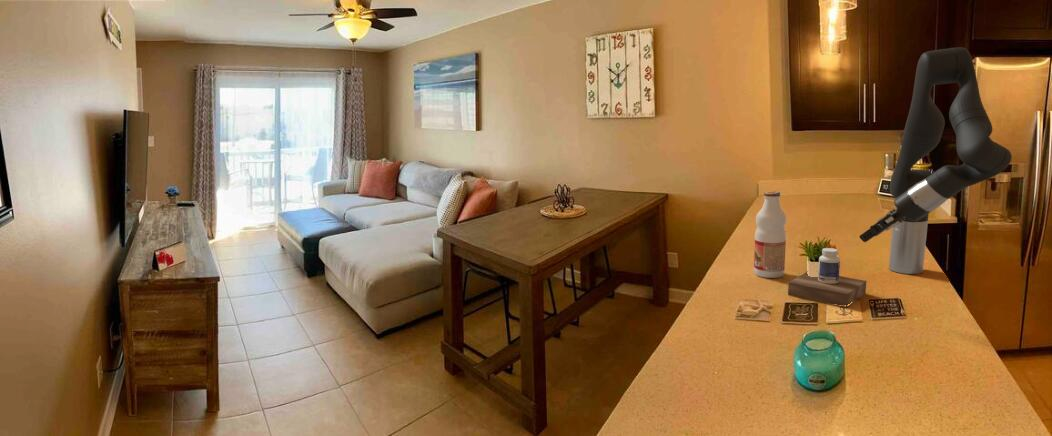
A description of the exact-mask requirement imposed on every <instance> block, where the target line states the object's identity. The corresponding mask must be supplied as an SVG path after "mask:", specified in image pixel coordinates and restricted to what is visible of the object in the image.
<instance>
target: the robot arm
mask: <svg viewBox="0 0 1052 436" xmlns="http://www.w3.org/2000/svg"><path fill="white" fill-rule="evenodd" d="M976 74H977V73H976V69H975V65H974V61H973V58H972V56H971V53H970V52H969V50H968V49H967V48H965V47H960V46H959V47H949V48H942V49H934V50H928V51H925V52H923V53H922V54H921V55H920V58H919V59H918V62H917V64H916V71H915V78H914V82H913V83H914V84H913V92H912V99H911V102H910V108H909V110H908V115H907V119H906V121H905V122H906V123H905V124H904V126H905V127H904V129H903V133H902V141H901V146H900V150H899V155H898V158H897V160H896V163H895V166H894V170H893V172H892V175H891V177H890V178H891V179H890V184H889V192H890V195H891V196H892V197H893V198H895V199H894V200H893V203H894V206H895V207H896V208H893V209H892V210H890V211H888V212H886V213H885V215H884V216H882V217H880V218H879V219H878V220H876V223H875V224H872V225H871V226H869V229H867V230H866V231H864V232H863V233H861V234H860V235H859V236H858V237H859V238H860V240H862V242H863V243H867V242H868V241H870V240H871V239H873V238H874V237H878V236H879V235H880V234H882V233H883V232H888V231H889V230H890V229H891V239H890V249H889V250H890V251H889V252H890V253H889V264H888V269H889V270H890V271H892V272H895V273H898V274H899V273H900V274H904V275H905V274H907V275H919V274H922V273H923V271H924V263H925V253H926V244H927V243H926V242H927V233H928V224H929V223H928V221H929V215H930V213H931V212H933V211H935V210H936V209H937V208H940V206H942V205H943V204H944V203H945V202H947V201H948V200H949V199H951V198H953V197H954V196H955V195H957V194H958V193H961V192H962V190H964V189H966V188H968V187H972V186H973V185H977V184H978V183H981V182H984V181H987V180H989V179H991V178H993V177H995V176H997V175H999V174H1001V173H1002V172H1003V171H1005V170H1006V169H1007V167H1008V166H1009V165H1010V163H1012V162H1011V161H1012V157H1013V156H1012V152H1011V151H1010V150H1009V149H1008V148H1007V147H1005V146H1003V145H1001V144H999V143H998V142H995V141H994V140H992V138H991V137H990V136H991V135H992V132H993V124H992V122H991V120H990V117H989V115H988V113H987V110H986V109H985V108H984V104H983V102H982V98H981V94H980V90H979V89H980V88H979V83H978V78H977V75H976ZM954 83H956V84H957V85H958V88H959V89H958V93H957V95H956V96H955V98H954V99H953V102H952V103H951V105H950V107H949V112H948V116H949V122H950V124H951V127H952V129H953V131H954V133H955V136H956V138H955V142H956V145H955V146H956V152H957V156H958V158H959V160H961V161H962V163H963V164H961V165H953V164H946V165H943V166H942V167H940V168H939V169H937V170H935V171H934V172H932V171H931V170H928V169H912V168H913V167H914V166H915V165H916V163H918V162H919V161H920V160H922V159H923V158H924V157H926V156H928V154H929V153H931V152H932V151H933V150H934V149H935V148H936V147H937V146H938V145H939V144H940V142H941V139H942V136H943V132H944V129H945V125H946V121H945V118H944V115H943V113H942V112H941V109H939V108H938V106H937V105H936V104H935V102H934V100H933V98H932V95H931V91H932V88H933V87H934V86H937V85H939V86H940V85H946V84H954Z"/></svg>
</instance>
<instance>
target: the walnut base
mask: <svg viewBox="0 0 1052 436" xmlns="http://www.w3.org/2000/svg"><path fill="white" fill-rule="evenodd" d="M807 272H808V271H806V272H804V273H802V274H801V275H798V276H797V277H796V278H794V279H792V280H790V281H788V285H787V286H788V289H787V295H788V296H791V297H794V298H795V297H796V298H801V299H805V300H809V301H815V302H820V303H824V304H828V305H832V304H837V305H846V306H847V305H848V304H850V303H851V302H854V301H855V302H857V301H858V300H859V299H860V298H862V297H863V296H865V295H866V293H867V280H864V279H858V278H853V277H849V276H847V277H846V276H842V275H839V281H838V283H836V284H827V283H822V282H820V281H819V280H818V277H810V276H808V274H807ZM855 302H854V303H855ZM837 305H836V306H837Z"/></svg>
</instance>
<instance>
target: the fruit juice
mask: <svg viewBox="0 0 1052 436" xmlns="http://www.w3.org/2000/svg"><path fill="white" fill-rule="evenodd" d="M763 197H764V202H763V204H762V207H761V209H760V210H759V211H758V212H757V213H756V216H755V223H756V226H757V227H756V229H755V233H754V255H753V273H754V275H756V276H758V277H761V278H766V279H776V278H777V279H778V278H781V277H784V275H785V266H786V265H785V264H786V246H787V245H786V244H787V243H786V242H787V233H786V230H785V226H786V223H787V215H786V213H785V212H784V211H783V210H782V206H781V204H780V198H781V192H780V191H776V190H773V191H772V190H771V191H770V190H769V191H764V192H763Z"/></svg>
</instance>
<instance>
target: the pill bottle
mask: <svg viewBox="0 0 1052 436" xmlns="http://www.w3.org/2000/svg"><path fill="white" fill-rule="evenodd" d="M838 253H839V251H838V249H837V248H833V247H831V248H830V247H824V248H822V250H821V254H822V255H820V256H819V258H818V271H817V272H818V280H819V281H820V282H822V283H827V284H836V283H838V281H839V276H840V268H841V267H840V266H841V260H840V259H841V258H840V257H838V255H839V254H838Z"/></svg>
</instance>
